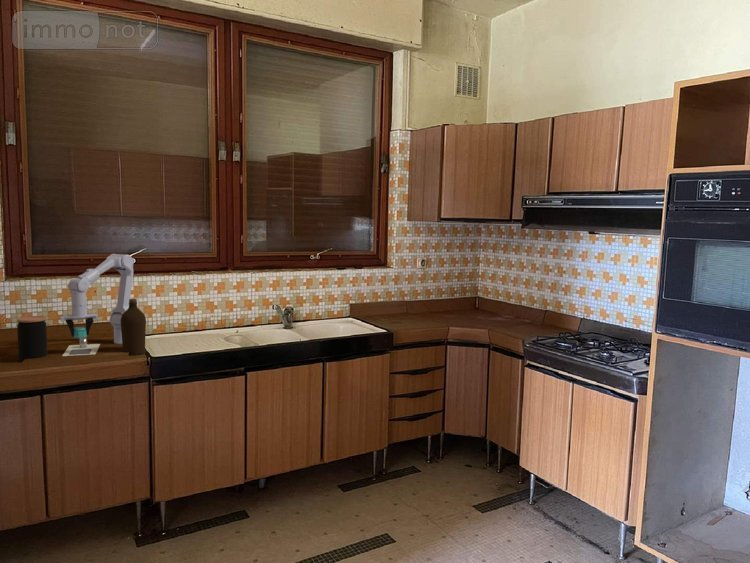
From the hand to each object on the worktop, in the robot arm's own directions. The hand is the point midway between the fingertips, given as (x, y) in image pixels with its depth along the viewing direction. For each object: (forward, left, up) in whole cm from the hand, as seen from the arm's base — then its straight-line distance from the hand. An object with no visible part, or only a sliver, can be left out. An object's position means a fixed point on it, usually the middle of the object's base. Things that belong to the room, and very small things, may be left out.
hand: (80, 335), depth 249 cm
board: (0, -5, -9) cm, 10 cm away
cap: (0, 0, 0) cm, 1 cm away
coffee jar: (+18, +2, -9) cm, 20 cm away
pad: (0, 0, -8) cm, 8 cm away
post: (0, -10, -8) cm, 13 cm away
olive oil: (-22, +1, -9) cm, 24 cm away
